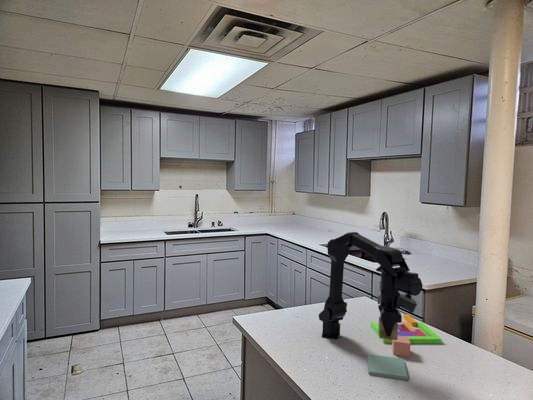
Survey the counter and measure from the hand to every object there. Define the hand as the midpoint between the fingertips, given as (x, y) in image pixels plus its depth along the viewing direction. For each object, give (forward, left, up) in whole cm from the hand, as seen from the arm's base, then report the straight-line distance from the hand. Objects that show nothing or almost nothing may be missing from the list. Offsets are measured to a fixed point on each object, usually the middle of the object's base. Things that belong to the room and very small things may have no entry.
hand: (387, 332), depth 120 cm
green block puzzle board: (+8, +34, -13) cm, 37 cm away
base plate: (0, 0, -12) cm, 12 cm away
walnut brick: (0, 0, -1) cm, 1 cm away
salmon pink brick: (+6, +13, -12) cm, 19 cm away
